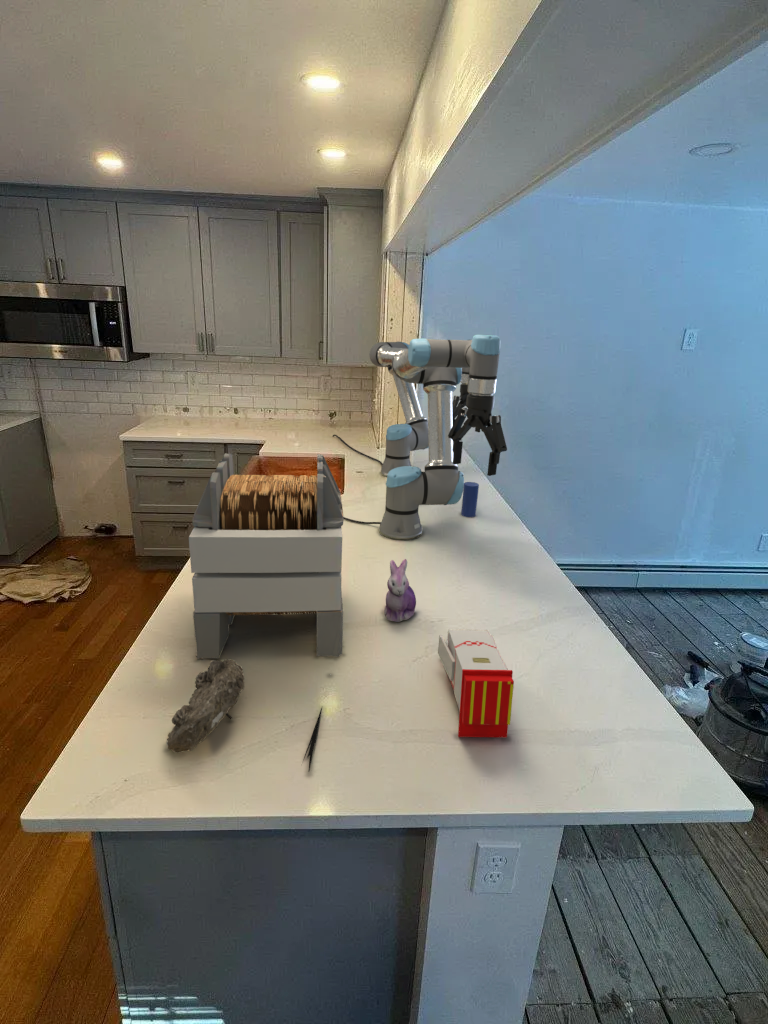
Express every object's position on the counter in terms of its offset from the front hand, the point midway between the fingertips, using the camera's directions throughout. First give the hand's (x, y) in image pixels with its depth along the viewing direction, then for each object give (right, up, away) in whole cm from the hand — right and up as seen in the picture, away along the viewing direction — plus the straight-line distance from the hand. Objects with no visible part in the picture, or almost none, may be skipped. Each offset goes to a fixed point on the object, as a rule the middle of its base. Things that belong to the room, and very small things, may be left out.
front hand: (473, 469), depth 162 cm
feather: (-38, -52, -53) cm, 84 cm away
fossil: (-58, -51, -54) cm, 95 cm away
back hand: (+10, +23, +89) cm, 92 cm away
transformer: (-53, -39, -20) cm, 69 cm away
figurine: (-22, -39, -15) cm, 47 cm away
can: (+7, -13, +60) cm, 62 cm away
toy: (-8, -50, -43) cm, 67 cm away
